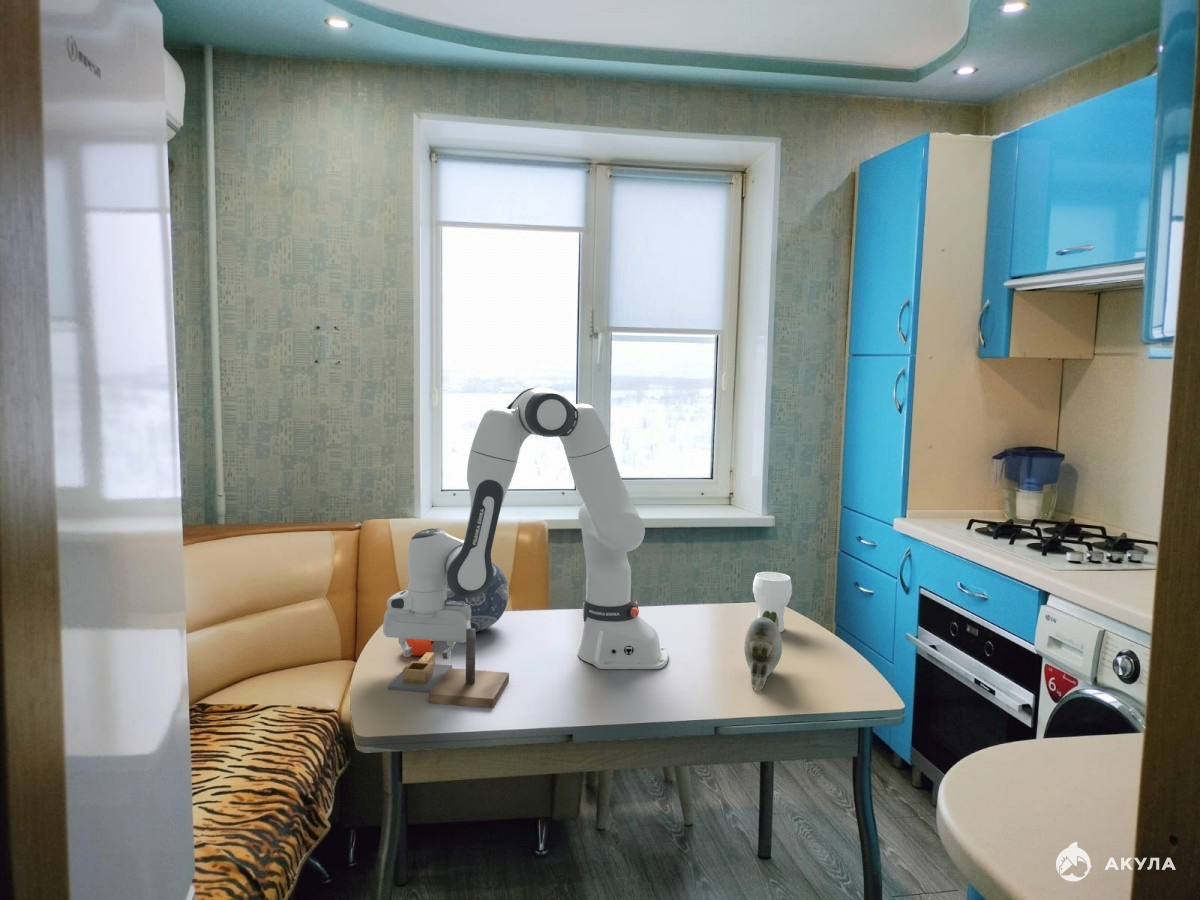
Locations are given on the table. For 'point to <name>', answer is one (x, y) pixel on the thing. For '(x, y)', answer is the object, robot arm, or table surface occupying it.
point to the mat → (437, 675)
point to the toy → (763, 647)
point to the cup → (772, 594)
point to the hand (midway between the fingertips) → (427, 657)
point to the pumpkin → (420, 646)
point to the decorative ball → (486, 602)
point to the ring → (419, 670)
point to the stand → (469, 682)
